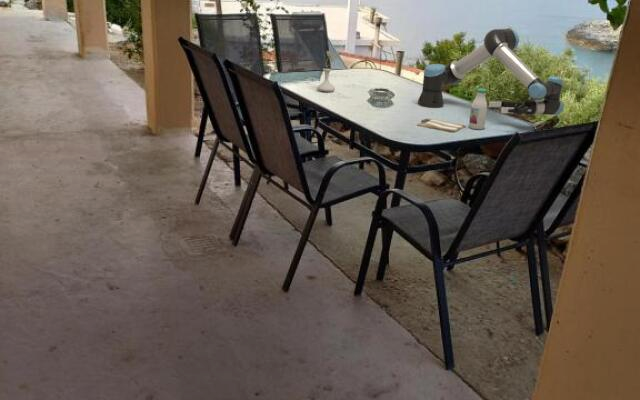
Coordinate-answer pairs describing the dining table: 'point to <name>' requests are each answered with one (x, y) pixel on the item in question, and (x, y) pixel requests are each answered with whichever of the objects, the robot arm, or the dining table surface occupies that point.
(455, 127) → the clipboard
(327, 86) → the flower in vase
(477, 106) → the milk bottle
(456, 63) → the robot arm
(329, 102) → the dining table surface
